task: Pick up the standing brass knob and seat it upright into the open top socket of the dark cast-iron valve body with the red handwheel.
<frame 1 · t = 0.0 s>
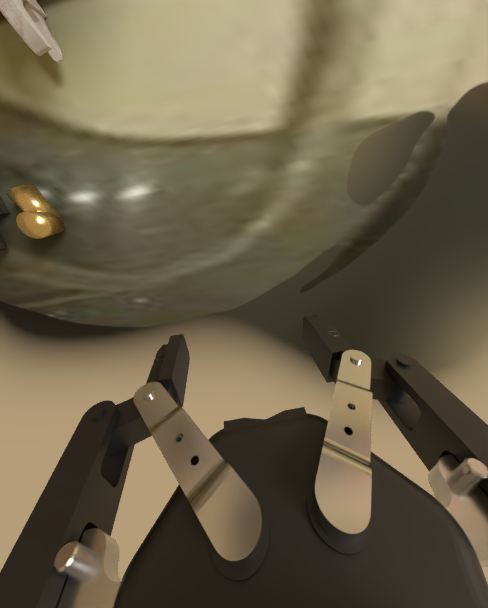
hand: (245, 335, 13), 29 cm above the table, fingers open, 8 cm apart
brass elbow: (44, 205, 32), on the table
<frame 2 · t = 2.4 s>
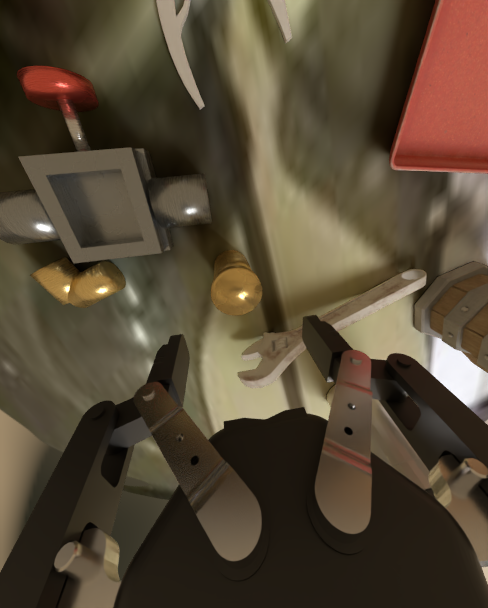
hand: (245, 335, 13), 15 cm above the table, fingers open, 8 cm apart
brass elbow: (106, 296, 24), point 2 cm above the table, tilted 90°
brass knob: (231, 267, 26), on the table
wrench: (320, 310, 32), on the table
tankard: (447, 316, 36), on the table
valve body: (120, 208, 21), on the table
plant saucer: (478, 68, 20), on the table
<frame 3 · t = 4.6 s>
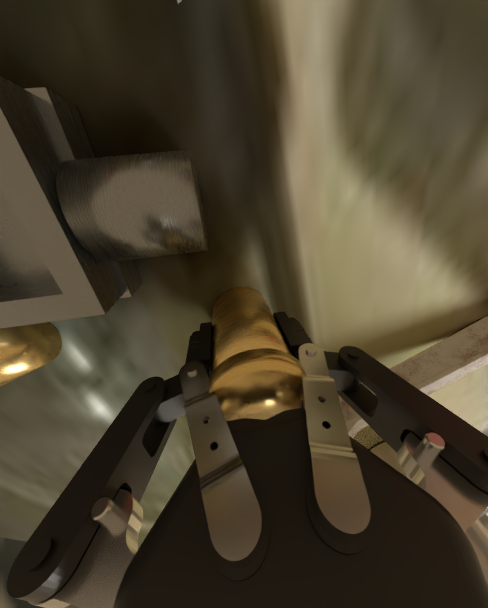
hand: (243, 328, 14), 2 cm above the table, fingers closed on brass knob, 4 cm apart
brass elbow: (27, 371, 14), point 2 cm above the table, tilted 90°
brass knob: (240, 312, 16), on the table, touching gripper
wrench: (368, 363, 22), on the table
valve body: (32, 220, 11), on the table
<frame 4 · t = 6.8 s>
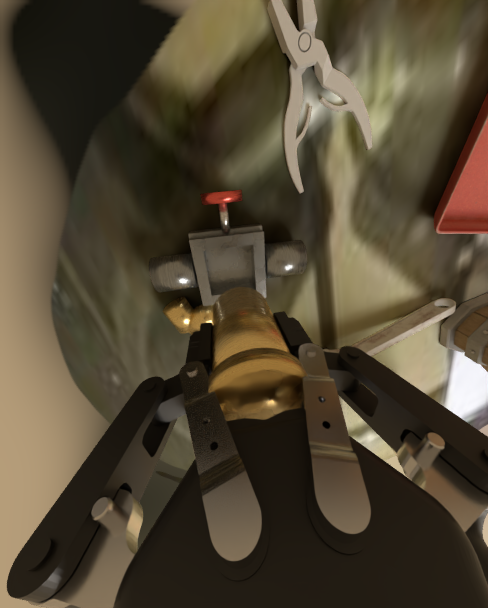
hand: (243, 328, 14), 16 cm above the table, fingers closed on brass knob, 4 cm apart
brass elbow: (209, 325, 31), point 2 cm above the table, tilted 90°
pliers: (310, 99, 21), on the table
brass knob: (240, 312, 16), point 14 cm above the table, touching gripper
wrench: (365, 330, 39), on the table
tankard: (467, 333, 42), on the table
valve body: (229, 260, 28), on the table
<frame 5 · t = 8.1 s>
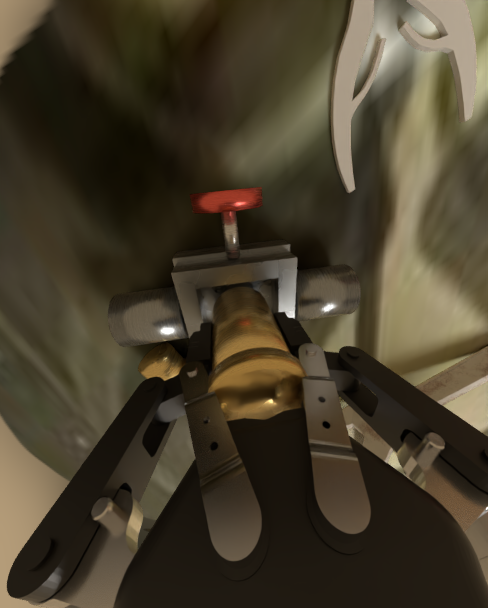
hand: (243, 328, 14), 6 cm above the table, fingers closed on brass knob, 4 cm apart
brass elbow: (207, 380, 22), point 2 cm above the table, tilted 90°
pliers: (381, 28, 12), on the table
brass knob: (240, 312, 16), point 4 cm above the table, touching gripper
wrench: (412, 373, 30), on the table
valve body: (236, 293, 19), on the table
when the fingers open (5 cm above the table, at t = 9.2 s): brass knob drops 1 cm, resting on valve body.
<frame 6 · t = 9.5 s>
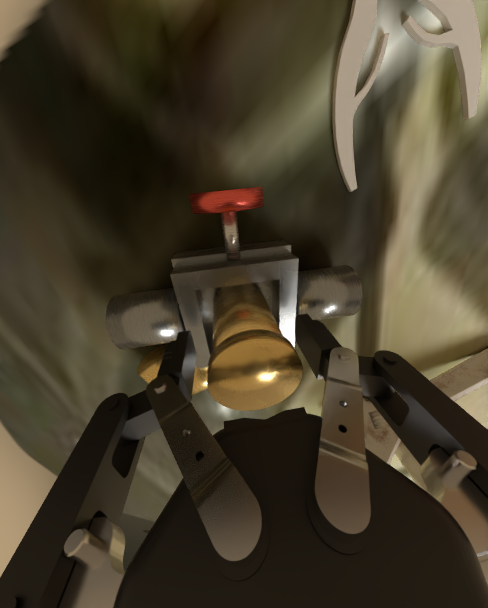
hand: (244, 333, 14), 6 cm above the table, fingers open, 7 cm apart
brass elbow: (207, 382, 22), point 2 cm above the table, tilted 90°
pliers: (384, 23, 12), on the table
brass knob: (239, 304, 17), point 2 cm above the table, touching valve body
wrench: (413, 374, 29), on the table
valve body: (236, 294, 19), on the table
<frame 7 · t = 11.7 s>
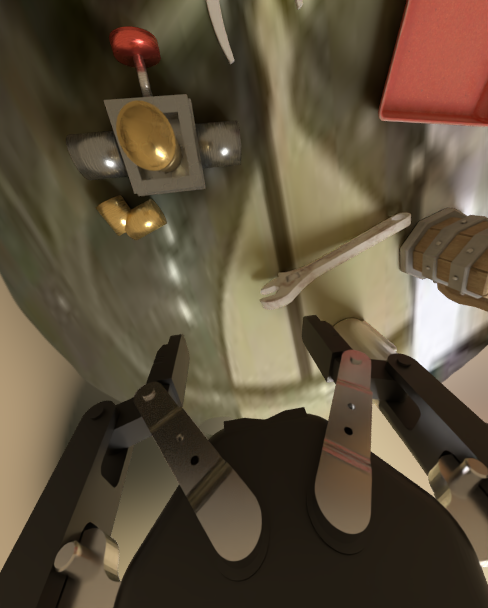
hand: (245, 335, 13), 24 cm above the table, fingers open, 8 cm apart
brass elbow: (152, 231, 30), point 2 cm above the table, tilted 90°
brass knob: (163, 151, 25), point 2 cm above the table, touching valve body
wrench: (324, 253, 38), on the table
tankard: (427, 260, 42), on the table
valve body: (165, 153, 27), on the table
plant saucer: (446, 38, 26), on the table
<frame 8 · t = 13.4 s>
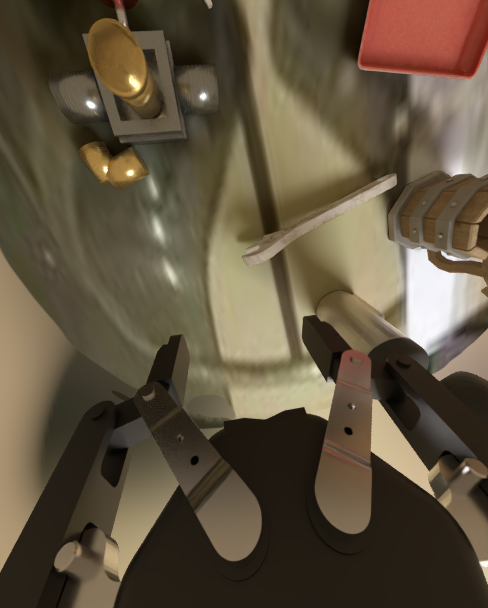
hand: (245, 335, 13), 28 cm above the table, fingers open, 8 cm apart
brass elbow: (134, 182, 30), point 2 cm above the table, tilted 90°
brass knob: (143, 95, 26), point 2 cm above the table, touching valve body
wrench: (310, 216, 38), on the table
tankard: (417, 230, 42), on the table
valve body: (147, 101, 27), on the table
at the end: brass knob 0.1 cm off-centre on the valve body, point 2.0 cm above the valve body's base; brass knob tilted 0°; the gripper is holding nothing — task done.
